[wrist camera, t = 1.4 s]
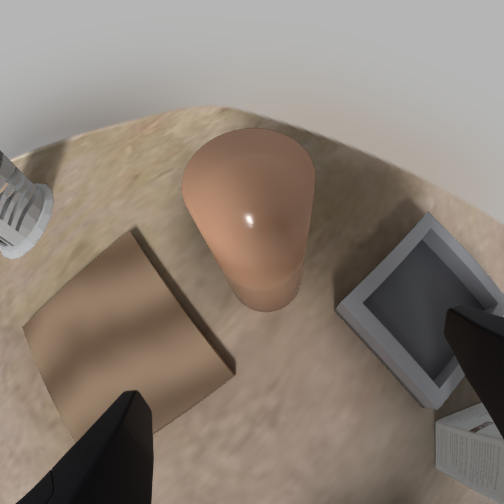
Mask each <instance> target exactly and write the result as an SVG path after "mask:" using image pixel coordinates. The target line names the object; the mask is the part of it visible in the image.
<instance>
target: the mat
mask: <svg viewBox="0 0 504 504" xmlns="http://www.w3.org/2000/svg"><path fill="white" fill-rule="evenodd" d="M22 328H23V330H24V333H25V336H26V339H27V342H28V344H29V347H30V350H31V352H32V355H33V357H34V360H35V362H36V365H37V367H38V370H39V372H40V374H41V377H42V379H43V381H44V383H45V385H46V388H47V390H48V392H49V394H50V396H51V398H52V400H53V402H54V404H55V406H56V408H57V410H58V412H59V414H60V416H61V418H62V419H63V421H64V423H65V425H66V427H67V428H68V430H69V432H70V434H71V435H72V437H73V439H74V440H75V442H77V441H78V440H79V439H80V438H81V437H82V436H83V435H84V434H85V432H86V431H87V430H88V429H89V428H90V427H91V426H92V425H93V424H94V423H95V422H96V421H97V420H98V419H99V417H100V416H101V415H102V414H103V413H104V412H105V411H106V410H107V409H108V408H109V407H110V406H111V405H112V403H113V402H114V401H115V400H116V399H117V398H118V397H119V396H120V395H121V394H122V393H123V392H124V391H129V390H137V391H139V392H140V393H141V395H142V396H143V398H144V399H145V401H146V402H147V404H148V405H149V407H150V409H151V411H152V427H153V434H154V433H156V432H157V431H159V430H160V429H162V428H163V427H165V426H166V425H168V424H169V423H171V422H172V421H174V420H175V419H177V418H178V417H179V416H181V415H182V414H184V413H185V412H187V411H188V410H189V409H191V408H192V407H194V406H195V405H196V404H198V403H199V402H200V401H202V400H203V399H205V398H206V397H207V396H209V395H210V394H211V393H213V392H214V391H215V390H217V389H218V388H219V387H221V386H222V385H223V384H225V383H226V382H227V381H229V380H230V379H231V378H233V377H234V376H235V374H234V372H233V371H232V370H231V369H230V367H229V366H228V365H227V364H226V362H225V361H224V360H223V359H222V357H221V356H220V355H219V354H218V352H217V351H216V350H215V349H214V347H213V346H212V345H211V343H210V342H209V341H208V340H207V338H206V337H205V336H204V334H203V333H202V332H201V330H200V329H199V328H198V326H197V325H196V324H195V323H194V321H193V320H192V318H191V317H190V316H189V314H188V313H187V312H186V310H185V309H184V308H183V306H182V305H181V303H180V302H179V301H178V299H177V298H176V297H175V295H174V294H173V292H172V291H171V290H170V288H169V287H168V285H167V284H166V282H165V281H164V280H163V278H162V277H161V275H160V274H159V272H158V271H157V269H156V268H155V266H154V265H153V263H152V262H151V260H150V259H149V257H148V256H147V254H146V253H145V251H144V250H143V248H142V247H141V245H140V244H139V242H138V241H137V239H136V238H135V236H134V235H133V234H132V233H131V232H130V231H128V232H127V233H125V234H124V235H123V236H122V237H121V238H119V239H118V240H117V241H116V242H115V243H113V244H112V245H111V246H110V247H109V248H107V249H106V250H105V251H104V252H103V253H101V254H100V255H99V256H98V257H97V258H96V259H94V260H93V261H92V262H91V263H90V264H89V265H88V266H86V267H85V268H84V269H83V270H82V271H81V272H80V273H79V274H77V275H76V276H75V277H74V278H73V279H72V280H71V281H70V282H69V283H67V284H66V285H65V286H64V287H63V288H62V289H61V290H60V291H59V292H58V293H57V294H56V295H55V296H54V297H52V298H51V299H50V300H49V301H48V302H47V303H46V304H45V305H44V306H43V307H42V308H41V309H40V310H39V311H38V312H37V313H36V314H35V315H34V316H33V317H32V318H31V319H30V320H29V321H28V322H27V323H26V324H25V325H24V326H23V327H22Z"/></svg>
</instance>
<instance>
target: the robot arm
mask: <svg viewBox="0 0 504 504" xmlns="http://www.w3.org/2000/svg"><path fill="white" fill-rule="evenodd" d="M444 336H445V339H446V341H447V342H448V344H449V346H450V348H451V350H452V352H453V353H454V355H455V357H456V359H457V361H458V363H459V365H460V367H461V369H462V371H463V372H464V374H465V376H466V378H467V379H468V381H469V382H470V384H471V386H472V387H473V389H474V390H475V392H476V393H477V395H478V397H479V398H480V400H481V402H482V403H483V405H484V406H485V408H486V410H487V411H488V413H489V415H490V417H491V418H492V420H493V422H494V423H495V425H496V427H497V429H498V430H499V432H500V434H501V436H502V438H503V440H504V317H501V316H497V315H494V314H491V313H487V312H484V311H481V310H477V309H474V308H471V307H467V306H464V305H460V304H458V305H455V306H453V307H450V308H449V309H448V310H447V312H446V318H445V325H444ZM153 461H154V456H153V427H152V411H151V409H150V407H149V405H148V404H147V402H146V401H145V399H144V398H143V396H142V395H141V393H140V392H139V391H137V390H129V391H124V392H123V393H122V394H121V395H120V396H119V397H118V398H117V399H116V400H115V401H114V402H113V403H112V405H111V406H110V407H109V408H108V409H107V410H106V411H105V412H104V413H103V414H102V415H101V416H100V417H99V419H98V420H97V421H96V422H95V423H94V424H93V425H92V426H91V427H90V428H89V429H88V430H87V431H86V432H85V434H84V435H83V436H82V437H81V438H80V439H79V440H78V441H77V442H76V443H75V444H74V445H73V446H72V448H71V449H70V450H69V451H68V452H67V453H66V454H65V455H64V456H63V457H62V458H61V459H60V460H59V461H58V463H57V464H56V465H55V466H54V467H53V468H52V470H50V471H49V472H48V473H47V474H46V475H45V476H44V477H43V478H42V480H41V481H40V482H39V483H38V484H37V485H36V486H35V487H34V488H33V489H32V490H30V491H29V492H28V493H27V494H26V495H25V496H24V497H23V498H22V499H20V500H19V501H18V502H17V503H16V504H151V498H152V479H153Z"/></svg>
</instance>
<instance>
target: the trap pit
mask: <svg viewBox="0 0 504 504" xmlns="http://www.w3.org/2000/svg"><path fill="white" fill-rule="evenodd" d="M458 304H460V305H464V306H467V307H471V308H474V309H477V310H481V311H484V312H487V313H491V314H494V315H497V316H501V317H503V315H504V294H503V293H502V292H501V291H500V289H499V288H498V287H497V286H496V284H495V283H494V282H493V281H492V279H491V278H490V277H489V276H488V275H487V273H486V272H485V271H484V270H483V269H482V268H481V266H480V265H479V264H478V263H477V262H476V261H475V260H474V258H473V257H472V256H471V255H470V254H469V253H468V252H467V251H466V250H465V249H464V247H463V246H462V245H461V244H460V243H459V242H458V241H457V240H456V239H455V238H454V237H453V236H452V235H451V234H450V233H449V232H448V231H447V230H446V229H445V228H444V227H443V226H442V225H441V224H440V223H439V222H438V221H437V220H436V219H435V218H434V217H433V216H432V215H431V214H430V213H429V212H427V213H426V214H425V216H424V217H423V218H422V219H421V220H420V221H419V222H418V223H417V225H416V226H415V227H414V228H413V229H412V230H411V231H410V232H409V233H408V234H407V236H406V237H405V238H404V239H403V240H402V241H401V242H400V243H399V244H398V245H397V246H396V247H395V248H394V249H393V250H392V252H391V253H390V254H389V255H388V256H387V257H386V258H385V259H384V260H383V261H382V262H381V263H380V264H379V265H378V266H377V267H376V268H375V269H374V270H373V271H372V272H371V273H370V274H369V275H368V276H367V277H366V278H365V279H364V280H363V281H362V282H361V283H360V284H359V285H358V286H357V287H356V288H355V289H354V290H353V291H352V292H351V293H350V294H349V295H347V296H346V297H345V298H344V299H343V300H342V301H341V302H340V303H339V305H338V306H337V308H336V309H335V310H334V311H335V312H336V313H337V314H338V315H339V316H340V317H341V318H342V319H343V321H344V322H345V323H346V324H347V325H348V326H349V327H350V328H351V329H352V330H353V331H354V332H355V334H356V335H357V336H358V337H359V338H360V339H361V340H362V341H363V342H364V343H365V344H366V345H367V347H368V348H369V349H370V350H371V351H372V352H373V353H374V354H375V355H376V356H377V358H378V359H379V360H380V361H381V362H382V363H383V364H384V365H385V366H386V367H387V369H388V370H389V371H390V372H391V373H392V374H393V375H394V376H395V377H396V378H397V380H398V381H399V382H400V383H401V384H402V385H403V386H404V387H405V389H406V390H407V391H408V392H409V393H410V394H411V395H412V396H413V397H414V399H415V400H416V401H417V402H418V403H419V404H420V405H421V406H422V407H423V408H430V409H436V410H438V409H439V408H440V407H441V405H442V404H443V403H444V402H445V401H446V399H447V398H448V397H449V396H450V394H451V393H452V392H453V391H454V389H455V388H456V387H457V385H458V384H459V383H460V381H461V380H462V379H463V377H464V376H465V374H464V372H463V371H462V369H461V367H460V365H459V363H458V361H457V359H456V357H455V355H454V353H453V352H452V350H451V348H450V346H449V344H448V342H447V341H446V339H445V336H444V325H445V318H446V312H447V310H448V309H449V308H450V307H453V306H455V305H458Z"/></svg>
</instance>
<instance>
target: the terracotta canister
mask: <svg viewBox="0 0 504 504" xmlns="http://www.w3.org/2000/svg"><path fill="white" fill-rule="evenodd" d="M315 181H316V175H315V168H314V165H313V162H312V160H311V158H310V156H309V154H308V153H307V151H306V150H305V149H304V148H303V147H302V146H301V145H300V144H299V143H298V142H296V141H295V140H293V139H292V138H290V137H288V136H286V135H284V134H282V133H279V132H277V131H273V130H268V129H261V128H247V129H239V130H235V131H231V132H228V133H225V134H222V135H220V136H218V137H216V138H214V139H212V140H210V141H209V142H208V143H206V144H205V145H203V146H202V147H201V148H200V149H199V150H198V151H197V152H196V153H195V154H194V155H193V157H192V158H191V160H190V161H189V163H188V165H187V166H186V168H185V171H184V174H183V179H182V195H183V199H184V202H185V204H186V206H187V208H188V210H189V212H190V214H191V216H192V218H193V219H194V221H195V223H196V225H197V227H198V229H199V230H200V232H201V234H202V236H203V238H204V240H205V241H206V243H207V245H208V247H209V249H210V250H211V252H212V254H213V256H214V258H215V259H216V261H217V263H218V265H219V267H220V268H221V270H222V272H223V274H224V275H225V277H226V279H227V281H228V282H229V284H230V286H231V288H232V289H233V291H234V293H235V295H236V296H237V298H238V299H239V300H240V301H241V302H242V303H243V304H244V305H245V306H247V307H248V308H250V309H252V310H255V311H260V312H272V311H276V310H279V309H282V308H283V307H285V306H287V305H288V304H289V303H290V302H291V301H292V300H293V299H294V298H295V297H296V295H297V293H298V291H299V288H300V285H301V279H302V273H303V267H304V260H305V254H306V247H307V241H308V234H309V227H310V220H311V213H312V206H313V198H314V190H315Z"/></svg>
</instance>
